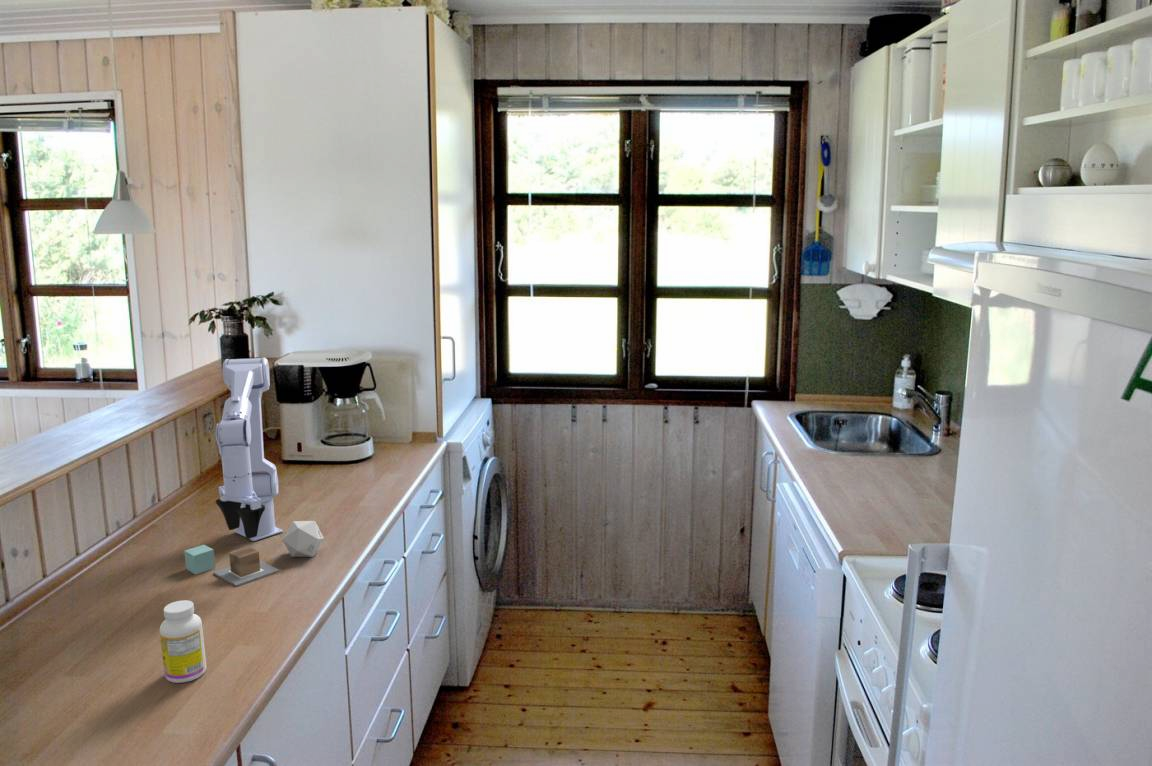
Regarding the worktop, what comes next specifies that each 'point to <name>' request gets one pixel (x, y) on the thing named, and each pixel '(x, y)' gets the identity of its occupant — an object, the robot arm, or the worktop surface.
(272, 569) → the grey square plate
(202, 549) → the teal block
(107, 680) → the worktop surface
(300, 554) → the die
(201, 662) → the supplement bottle
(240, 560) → the walnut block
